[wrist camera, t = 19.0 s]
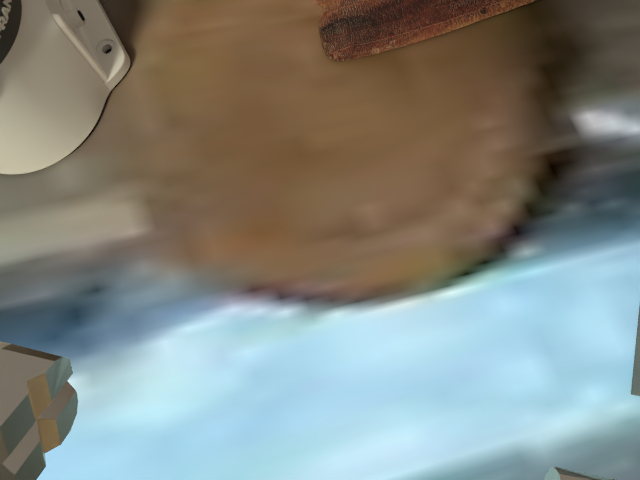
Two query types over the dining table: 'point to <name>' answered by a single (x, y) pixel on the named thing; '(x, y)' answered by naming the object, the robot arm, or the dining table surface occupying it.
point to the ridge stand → (637, 364)
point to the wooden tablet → (396, 22)
